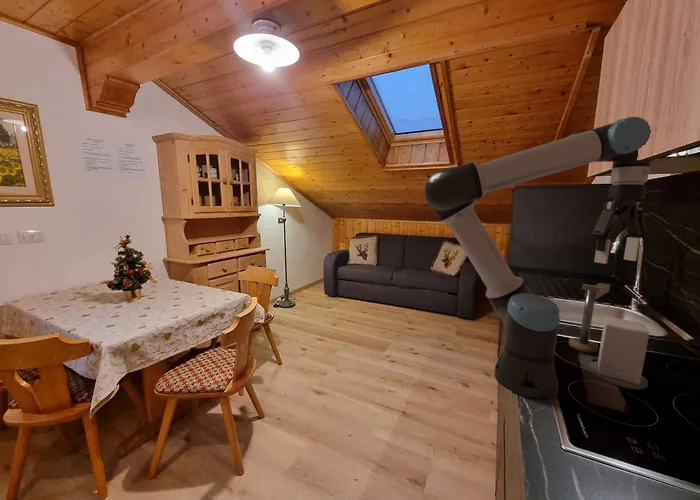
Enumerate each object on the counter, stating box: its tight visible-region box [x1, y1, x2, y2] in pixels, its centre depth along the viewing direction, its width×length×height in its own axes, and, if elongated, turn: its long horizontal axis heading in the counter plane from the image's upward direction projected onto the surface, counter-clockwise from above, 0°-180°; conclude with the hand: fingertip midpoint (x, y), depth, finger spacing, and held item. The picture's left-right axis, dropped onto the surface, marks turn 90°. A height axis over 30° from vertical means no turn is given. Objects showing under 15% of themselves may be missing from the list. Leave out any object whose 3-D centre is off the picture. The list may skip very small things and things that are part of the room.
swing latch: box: [579, 282, 611, 344], centre depth 108 cm, size 17×5×20 cm, turn 128°
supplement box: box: [597, 315, 650, 385], centre depth 87 cm, size 9×9×15 cm
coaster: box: [587, 361, 649, 391], centre depth 88 cm, size 13×13×1 cm
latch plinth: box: [568, 337, 599, 354], centre depth 105 cm, size 8×8×2 cm
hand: (615, 261), depth 86 cm, fingers open, 13 cm apart
